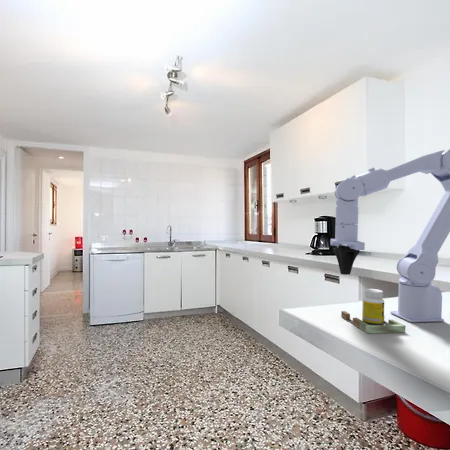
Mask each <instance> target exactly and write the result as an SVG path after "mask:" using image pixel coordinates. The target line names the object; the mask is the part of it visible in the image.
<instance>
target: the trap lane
mask: <svg viewBox="0 0 450 450" xmlns="http://www.w3.org/2000/svg"><path fill="white" fill-rule="evenodd" d="M340 314H341V315H340V316H341V318H342V319H344V320H345V321H347V322H349V323H350V324H352V325H354V326H355V327H357V328H359V329H360V330H362V331H364V332H365V333H367V334H368V335H369V334H395V333H396V334H399V333H400V334H401V333H406V325H405V324H403V323H400V322H399V321H397V320H395V319H388V320H387V321H388V322H387V321H386V320H384V325H369V324H367V323H365V322H363V321H362V319H360V318H359V317H352V319H351V313H349V312H348V311H345V310H342V311H341V312H340Z"/></svg>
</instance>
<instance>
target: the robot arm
mask: <svg viewBox="0 0 450 450" xmlns="http://www.w3.org/2000/svg"><path fill="white" fill-rule="evenodd" d="M416 173H423V174H425V175H427V174H431V175H432V176H433V177H434V178H435V179H436V180H437V181H438V182H439V183H440V184H441V186H442V187H443V189H444V193H443V196H442V197H441V199H440V200H439V202H438V204H437V206H436V207H435V209H434V212H433V213H432V214H431V217H430V218H429V221H428V222H427V224H426V225H425V227H424V229H423V230H422V233H421V234H420V236H419V238H418V240H417V241H416V242H415V243H416V244H415V245H413V246H412V247H411V248H410V249H409V250H408V251H407V253H406V254H405V255H404V256H403V257H401V258H400V259H399V260H398V262H397V264H396V271H397V273H398V275H399V276H400V278H399V279H398V297H397V298H398V299H397V300H398V301H397V310H391V311H390V314H392V315H395V316H396V317H398V318H401V319H403V320H405V321H408V322H410V323H425V322H426V323H427V322H445V319H444V318H443V317H442V316H443V315H442V313H443V311H442V310H443V309H442V308H443V306H442V305H443V295H442V294H443V293H442V291H441V289H440V288H439V286H438V285H437V284H434V283H432V282H433V281H434V279H435V278H436V268H437V265H438V264H439V254H438V253H439V252H440V250H441V248H442V246H443V245H444V243H445V241H446V239H447V238H448V235H449V234H450V148H449V149H448V150H445V149H443V150H439V151H436V152H432V153H431V152H430V153H429V154H425V155H422V156H419V157H417V158H414V159H411V160H410V161H407V162H405V163H401V164H399V165H398V166H394V167H392V168H389V169H386V170H385V169H383V168H381V167H380V168H379V167H378V168H375V167H371V168H369V169H368V170H367V172H365V173H361V174H359V175H355V174H354V175H352V176H350V178H349V177H348V178H346V179H344V180H342V181H341V182H340V183H338V185H336V188H335V191H334V196H335V198H336V206H335V225H334V226H335V227H334V228H335V230H334V231H335V232H334V233H335V235H334V236H335V237H334V238H330V241H329V242H330V246H332V247H333V246H336V247H333V248H332V251H333V253H334V255H335V257H336V260H337V263H338V269H339V272H340V275H345V276H346V275H348V276H349V275H351V272H352V269H353V265H354V262H355V261H356V259H357V257H358V255H359V253H360V251H365V247H366V245H365V244H366V243H365V241H364V242H363V241H360V240H359V239H358V236H359V235H358V233H359V198H360V197H366V196H368V195H371V194H374V193H377V192H379V191H383V190H385V189H387V188H388V186H389V184H390V183H391V182H393V181H395V180H399V179H401V178H405V177H407V176H410V175H414V174H416Z"/></svg>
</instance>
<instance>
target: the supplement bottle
mask: <svg viewBox="0 0 450 450" xmlns="http://www.w3.org/2000/svg"><path fill="white" fill-rule="evenodd" d="M383 297H384V290H381V289H376V288H365V289H364V296H363V297H362V311H361V312H362V314H361V316H362V317H361V320H362V321H363V322H365V323H367V324H369V325H385V324H384V321H385V299H384V298H383Z"/></svg>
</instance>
